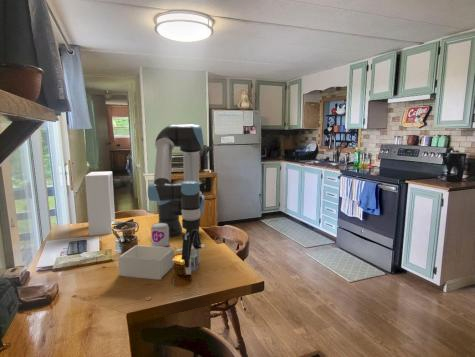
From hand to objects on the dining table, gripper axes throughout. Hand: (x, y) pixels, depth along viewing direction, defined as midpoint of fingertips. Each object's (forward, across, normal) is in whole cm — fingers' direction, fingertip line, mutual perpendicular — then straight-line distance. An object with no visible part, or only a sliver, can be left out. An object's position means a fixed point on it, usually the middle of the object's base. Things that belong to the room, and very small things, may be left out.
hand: (192, 268), depth 130 cm
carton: (0, +5, -18) cm, 19 cm away
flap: (-10, +15, -18) cm, 26 cm away
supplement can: (0, -12, -20) cm, 23 cm away
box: (0, -45, -74) cm, 87 cm away
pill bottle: (0, 0, 0) cm, 0 cm away
